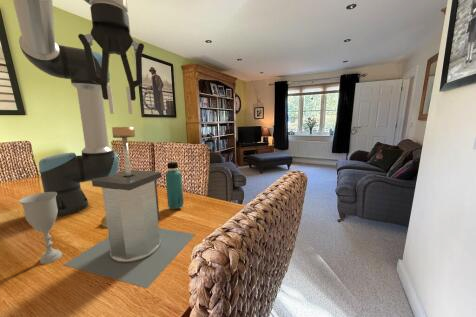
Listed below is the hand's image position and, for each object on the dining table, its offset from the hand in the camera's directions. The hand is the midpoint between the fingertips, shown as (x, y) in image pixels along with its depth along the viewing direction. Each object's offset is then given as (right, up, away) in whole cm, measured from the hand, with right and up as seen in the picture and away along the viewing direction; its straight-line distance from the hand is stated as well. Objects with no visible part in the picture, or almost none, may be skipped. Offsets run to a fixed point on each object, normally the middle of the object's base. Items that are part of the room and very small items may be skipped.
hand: (121, 113), depth 51 cm
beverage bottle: (+3, -33, +34) cm, 48 cm away
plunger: (0, -26, +5) cm, 26 cm away
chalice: (-21, -39, +3) cm, 44 cm away
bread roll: (-16, -35, +24) cm, 45 cm away
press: (+1, -37, +9) cm, 38 cm away
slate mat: (0, -38, +7) cm, 39 cm away
